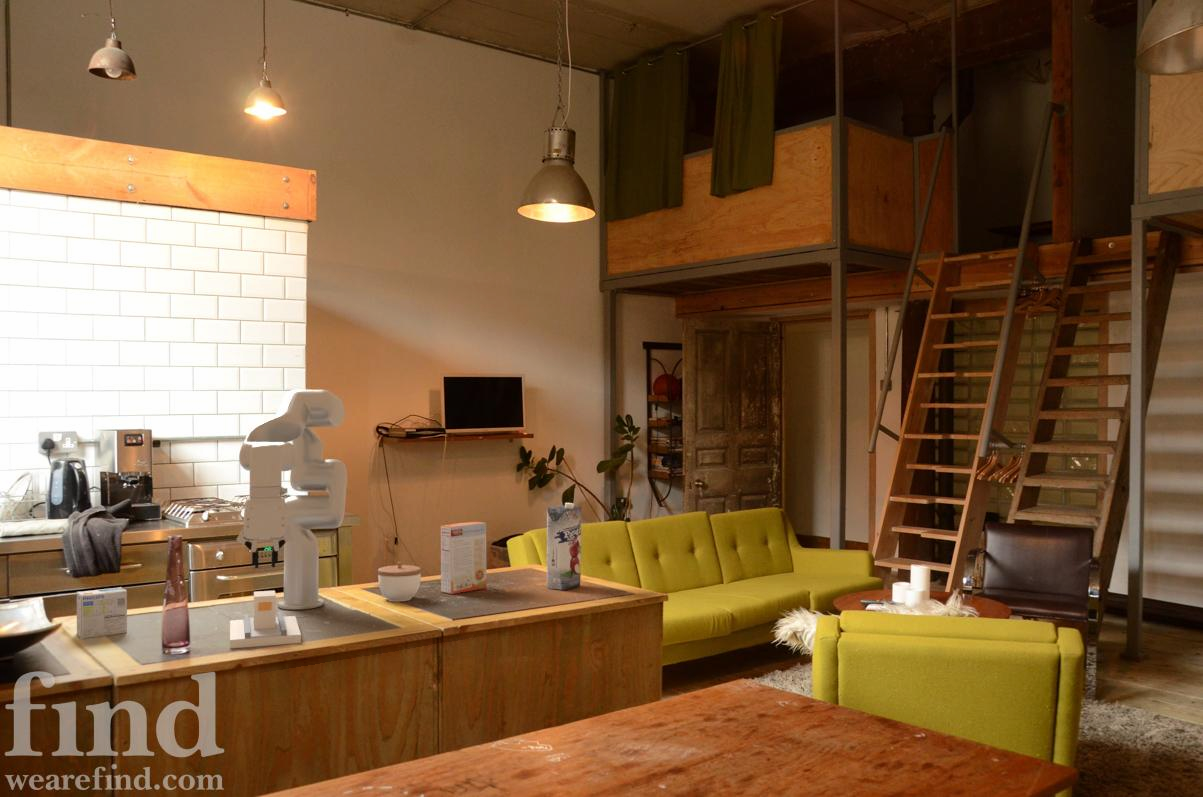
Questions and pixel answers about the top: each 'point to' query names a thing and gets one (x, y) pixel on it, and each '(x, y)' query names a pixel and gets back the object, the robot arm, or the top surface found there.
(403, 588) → the lidded bowl
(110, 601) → the light bulb box
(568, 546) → the juice carton
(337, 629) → the top surface
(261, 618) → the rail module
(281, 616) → the rail board
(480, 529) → the cracker box
